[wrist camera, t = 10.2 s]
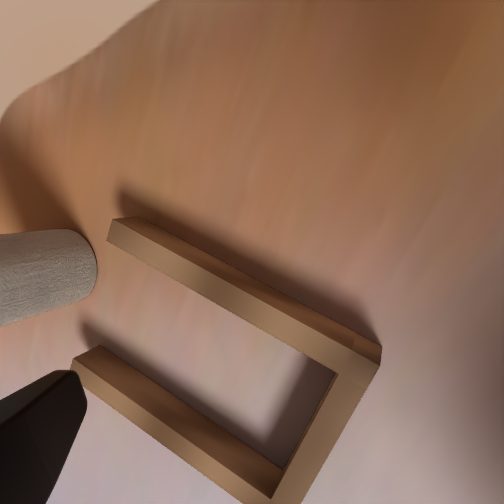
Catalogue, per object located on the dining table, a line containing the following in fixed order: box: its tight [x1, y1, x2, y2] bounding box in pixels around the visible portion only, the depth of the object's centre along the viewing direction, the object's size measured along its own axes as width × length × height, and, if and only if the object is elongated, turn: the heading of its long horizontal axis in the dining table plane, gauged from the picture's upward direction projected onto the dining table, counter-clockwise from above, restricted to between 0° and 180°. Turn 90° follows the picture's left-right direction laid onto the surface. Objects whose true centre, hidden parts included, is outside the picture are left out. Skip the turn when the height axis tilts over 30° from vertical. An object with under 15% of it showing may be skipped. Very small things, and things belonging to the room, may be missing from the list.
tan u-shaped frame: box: [70, 217, 382, 504], centre depth 19 cm, size 14×10×2 cm
